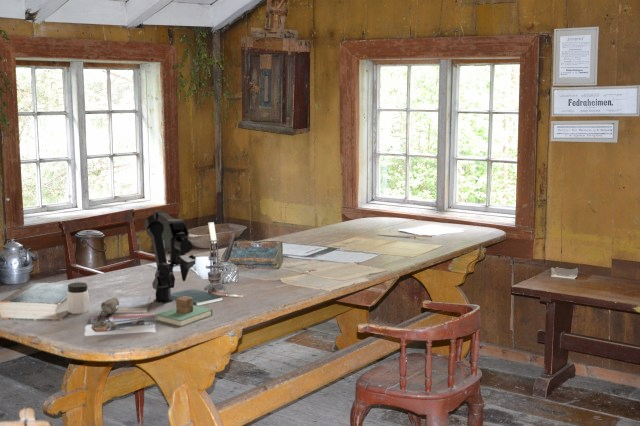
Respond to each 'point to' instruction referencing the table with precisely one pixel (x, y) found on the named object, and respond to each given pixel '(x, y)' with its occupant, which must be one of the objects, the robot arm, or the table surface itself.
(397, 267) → the table surface
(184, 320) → the green book
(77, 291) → the jar
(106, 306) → the decorative bird
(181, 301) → the walnut block
